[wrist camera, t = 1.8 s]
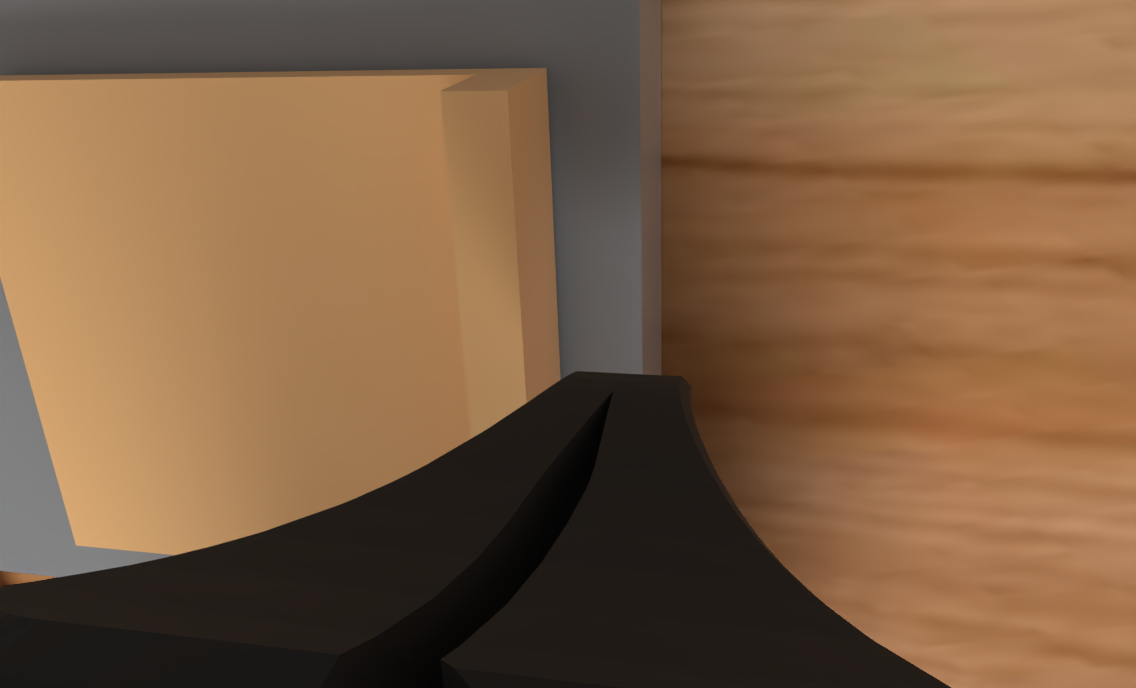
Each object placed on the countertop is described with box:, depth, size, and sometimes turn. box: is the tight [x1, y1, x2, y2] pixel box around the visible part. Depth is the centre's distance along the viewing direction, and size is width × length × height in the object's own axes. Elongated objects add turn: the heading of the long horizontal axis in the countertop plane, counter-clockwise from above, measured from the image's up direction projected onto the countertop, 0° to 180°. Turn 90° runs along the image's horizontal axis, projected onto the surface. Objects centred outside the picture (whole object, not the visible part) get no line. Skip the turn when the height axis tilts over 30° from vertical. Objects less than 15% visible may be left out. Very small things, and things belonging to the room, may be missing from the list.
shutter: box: [0, 68, 561, 555], centre depth 14 cm, size 9×8×2 cm
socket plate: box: [0, 0, 662, 577], centre depth 17 cm, size 19×11×2 cm, turn 92°
